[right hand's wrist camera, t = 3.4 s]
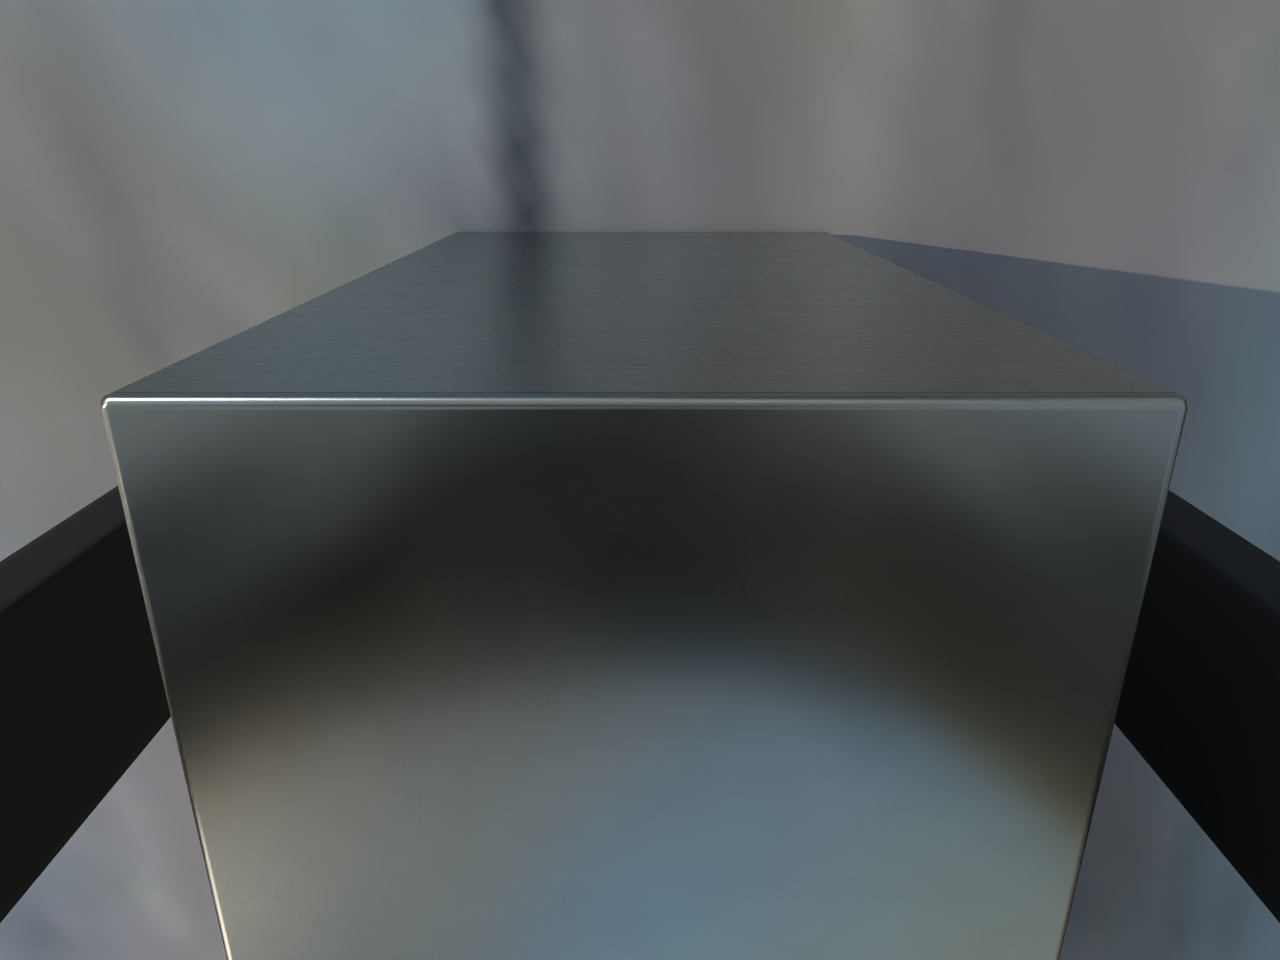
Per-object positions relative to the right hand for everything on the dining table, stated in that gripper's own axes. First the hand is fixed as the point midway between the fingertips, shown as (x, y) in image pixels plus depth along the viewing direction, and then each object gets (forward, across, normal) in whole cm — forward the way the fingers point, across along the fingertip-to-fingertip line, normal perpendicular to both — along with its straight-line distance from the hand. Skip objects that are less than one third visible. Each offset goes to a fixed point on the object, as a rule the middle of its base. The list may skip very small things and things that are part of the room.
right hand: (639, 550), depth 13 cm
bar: (+2, 0, -8) cm, 9 cm away
